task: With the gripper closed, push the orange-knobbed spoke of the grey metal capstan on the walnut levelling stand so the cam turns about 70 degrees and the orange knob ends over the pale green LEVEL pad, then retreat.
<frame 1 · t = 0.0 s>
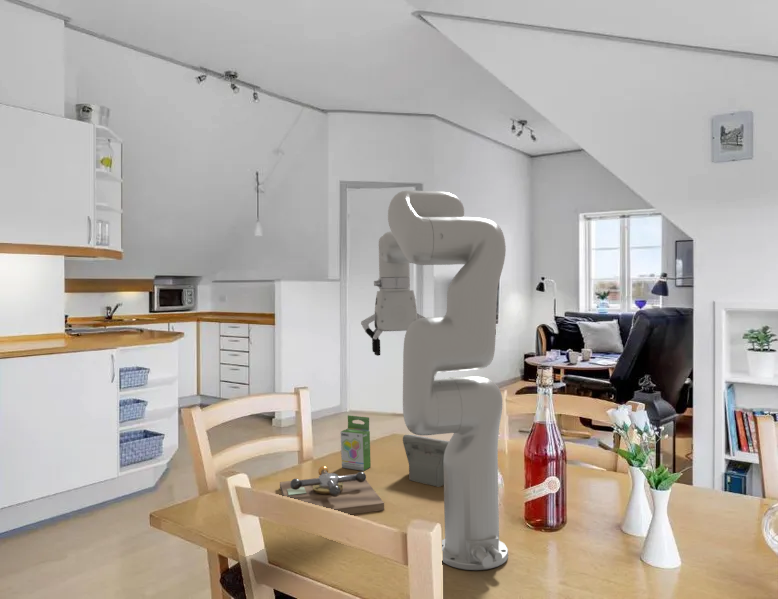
hand: (396, 354, 150), 31 cm above the table, fingers open, 9 cm apart
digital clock: (433, 480, 150), on the table
capstan: (328, 482, 137), point 4 cm above the table, hinge at 0.0°
ink box: (356, 468, 161), on the table
stand: (329, 498, 137), on the table
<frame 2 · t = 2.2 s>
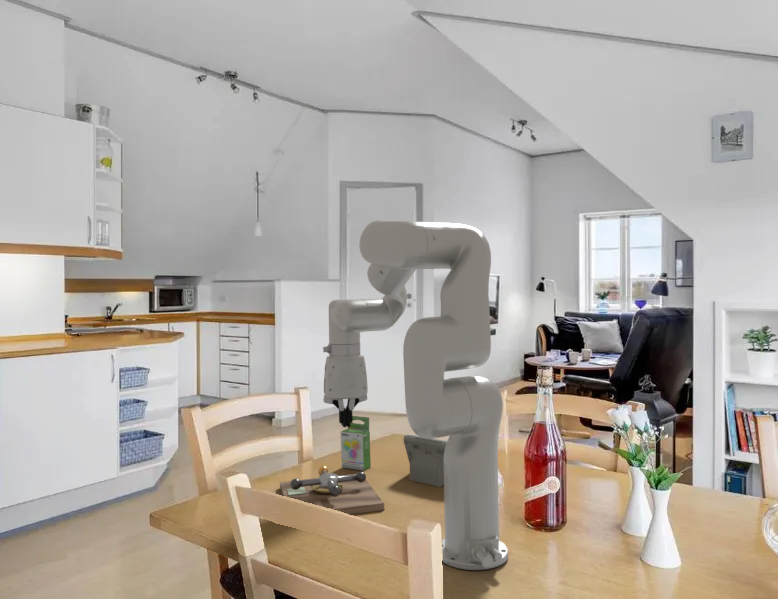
hand: (345, 425, 146), 14 cm above the table, fingers closed
nothing on the table moved.
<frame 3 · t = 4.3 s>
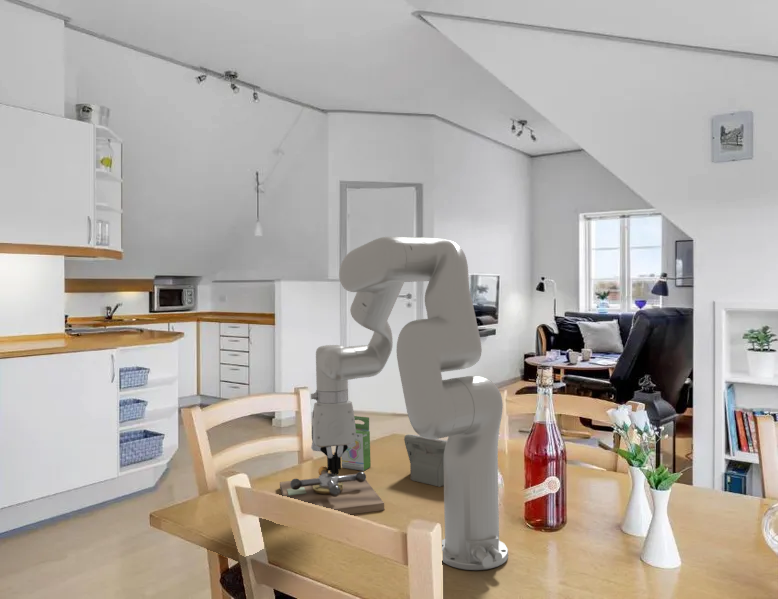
hand: (334, 472, 145), 3 cm above the table, fingers closed
capstan: (328, 482, 137), point 4 cm above the table, hinge at 0.0°, touching gripper
everything else where it was.
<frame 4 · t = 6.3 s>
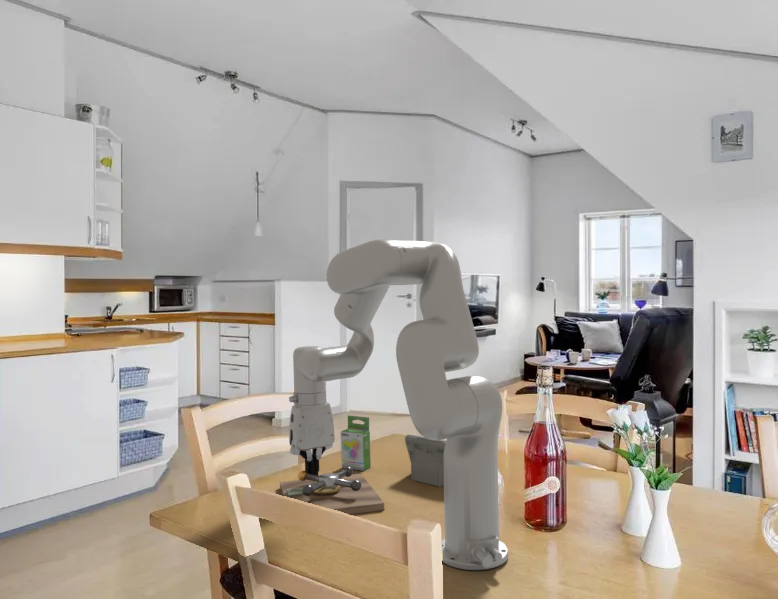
hand: (312, 475, 143), 3 cm above the table, fingers closed
capstan: (328, 482, 137), point 4 cm above the table, hinge at 42.7°, touching gripper
everything else where it was.
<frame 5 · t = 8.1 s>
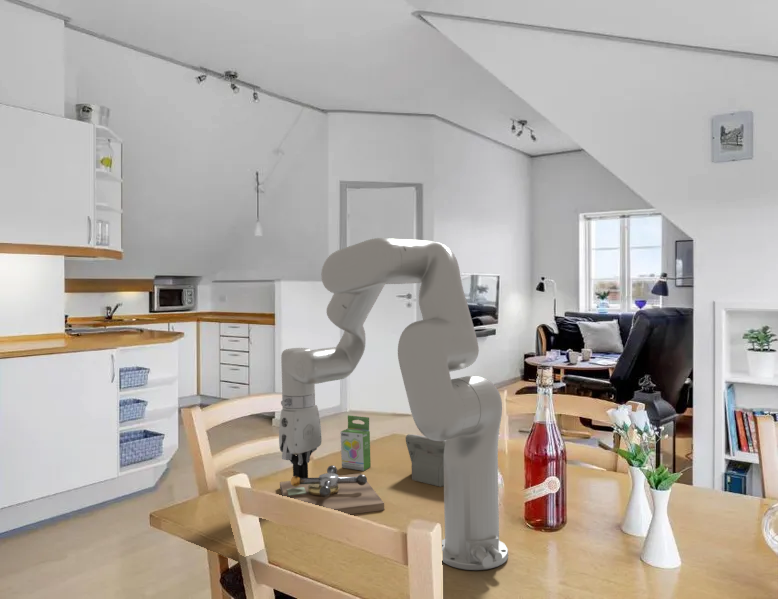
hand: (300, 480, 140), 3 cm above the table, fingers closed
capstan: (328, 482, 137), point 4 cm above the table, hinge at 73.8°
everything else where it was.
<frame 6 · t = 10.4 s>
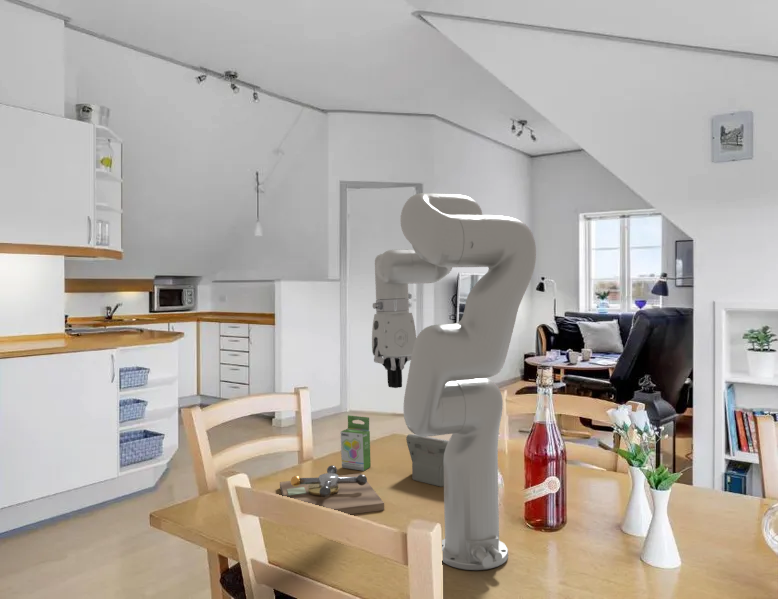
hand: (395, 386, 139), 25 cm above the table, fingers closed
nothing on the table moved.
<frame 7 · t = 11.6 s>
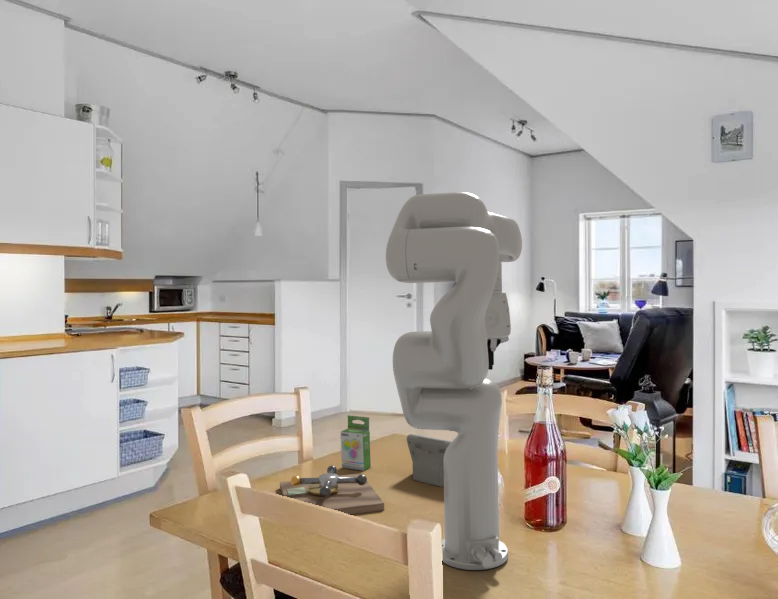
hand: (486, 368, 135), 29 cm above the table, fingers closed
nothing on the table moved.
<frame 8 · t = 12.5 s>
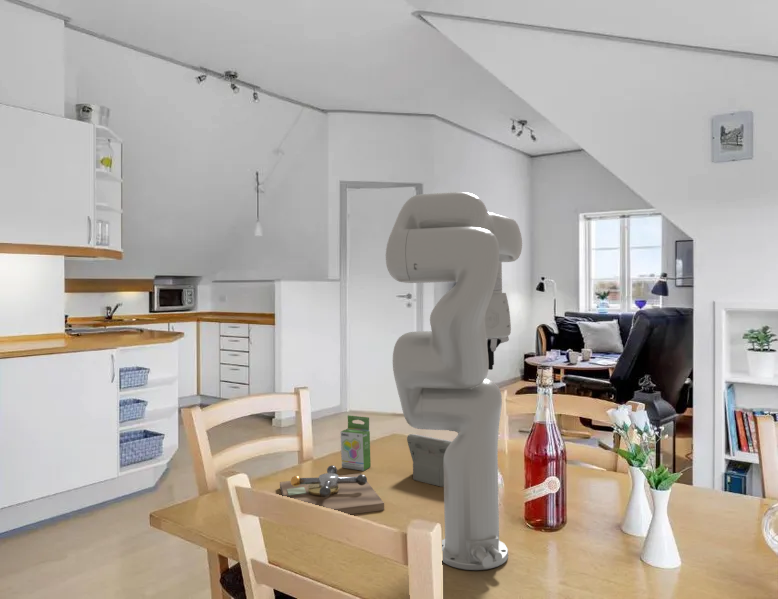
hand: (486, 368, 135), 29 cm above the table, fingers closed
nothing on the table moved.
at the end: capstan at +74° (first picture: +0°) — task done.
